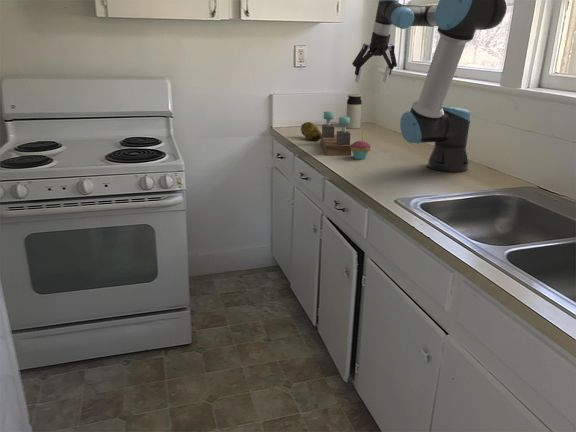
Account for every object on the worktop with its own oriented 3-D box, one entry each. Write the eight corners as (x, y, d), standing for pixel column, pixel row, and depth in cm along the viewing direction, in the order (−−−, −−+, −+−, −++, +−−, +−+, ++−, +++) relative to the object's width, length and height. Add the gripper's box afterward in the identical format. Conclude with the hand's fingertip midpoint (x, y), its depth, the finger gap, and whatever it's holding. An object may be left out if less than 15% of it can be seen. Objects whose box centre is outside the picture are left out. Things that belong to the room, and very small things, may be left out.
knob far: (333, 130, 221) (334, 112, 218) (323, 130, 221) (324, 112, 218) (332, 128, 225) (333, 111, 222) (322, 128, 225) (323, 111, 222)
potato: (306, 142, 231) (307, 125, 228) (299, 137, 242) (299, 121, 239) (323, 141, 233) (323, 125, 230) (314, 136, 244) (315, 120, 241)
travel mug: (361, 128, 266) (363, 95, 260) (347, 129, 265) (349, 95, 258) (357, 126, 273) (359, 94, 267) (344, 126, 272) (345, 94, 266)
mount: (351, 155, 206) (352, 134, 203) (325, 155, 206) (326, 134, 202) (343, 142, 230) (343, 123, 227) (320, 142, 230) (320, 123, 227)
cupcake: (354, 154, 207) (356, 126, 203) (373, 157, 203) (375, 129, 199) (346, 158, 200) (347, 130, 196) (365, 161, 196) (367, 132, 192)
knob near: (349, 136, 206) (350, 118, 203) (338, 136, 206) (339, 118, 203) (347, 134, 210) (348, 116, 207) (337, 134, 210) (338, 116, 207)
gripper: (404, 30, 205) (392, 78, 218) (350, 29, 198) (341, 78, 211) (412, 36, 199) (400, 85, 212) (357, 35, 192) (348, 85, 205)
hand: (370, 82), depth 211 cm, fingers open, 13 cm apart
